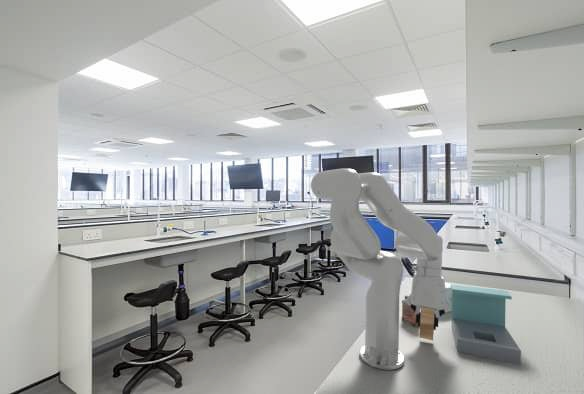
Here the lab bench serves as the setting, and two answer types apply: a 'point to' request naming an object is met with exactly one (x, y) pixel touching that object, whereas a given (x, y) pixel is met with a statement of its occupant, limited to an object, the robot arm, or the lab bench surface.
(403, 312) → the lighter
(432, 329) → the peg
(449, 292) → the skincare box
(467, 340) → the socket block
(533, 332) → the lab bench surface
